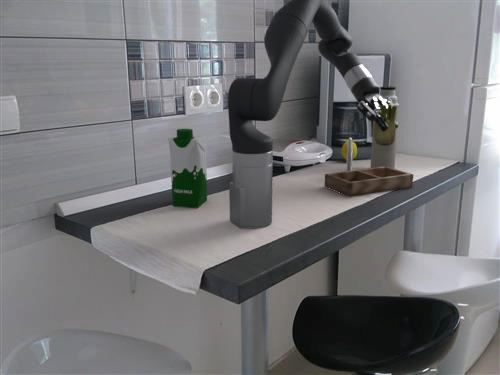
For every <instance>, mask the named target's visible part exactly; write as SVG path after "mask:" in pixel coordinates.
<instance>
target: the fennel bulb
mask: <svg viewBox="0 0 500 375" xmlns="http://www.w3.org/2000/svg"><path fill="white" fill-rule="evenodd" d="M391 106H392V110H391ZM378 107H379V108H380V105H378ZM386 108H387V105H382V111H380V113H381V116H382V117H383V118H384V120H385V121H386V123H387V125H388V126H389V128H388V129H387V130H386V131H384V132H383V131H382V130H381V129H380V127H379V126H378V124H377V123H376V122H375V124H374V138H375V141H376V143H377V144H379V145H383V146H389V145H391V144H393V142H394V141H395V133H396V129H395V115H396V108H397V107H396V106H394V105H391V104H388V109H387V116H386ZM385 117H386V119H385Z"/></svg>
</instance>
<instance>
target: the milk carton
mask: <svg viewBox="0 0 500 375" xmlns="http://www.w3.org/2000/svg"><path fill="white" fill-rule="evenodd" d="M207 138H208V136H207V135H205V134H194V133H193V129H192V128H178V129H176V134H175V135H174V136H172V137H171V136H170V137H169V138H168V147H169V158H170V178H171V180H170V181H171V196H172V206H173V207H179V208H181V207H182V208H192V209H199V207H201V206H202V205H203V204H205V203H206V202H208V178H207V176H208V174H207V173H208V172H207V168H208V167H207V140H208V139H207Z"/></svg>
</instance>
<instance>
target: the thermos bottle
mask: <svg viewBox="0 0 500 375" xmlns="http://www.w3.org/2000/svg"><path fill="white" fill-rule="evenodd" d="M379 88H380V91H379V94H380V95H381V96H382V97H383V98H384V99H385V100H388V99H389V98H390V99H391V100H392V103H393V105H394V106H396V107H397V108H396V115H395V120H396V122H397V123H398V124H399V113H400V112H399V111H400V104H399V103H398V96H396V87H395V86H390V85H389V86H388V85H387V86H386V85H385V86H379ZM381 111H382V110H381ZM386 115H387V113H386ZM372 121H373V120H372ZM374 124H375V122H374V121H373V122H372V136H371V152H370V166H369V168H376V167H384V166H386V167H390V168H393V169H396V168H395V163H396V152H397V142H398V141H397V139H398V128H399V126H398V127H397V128H396V133H395V141H394V142H393V144H391V145H389V146H383V145H379V144H377V143H376V141H375V138H374Z"/></svg>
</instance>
